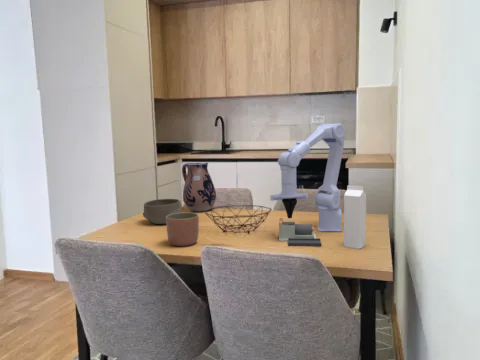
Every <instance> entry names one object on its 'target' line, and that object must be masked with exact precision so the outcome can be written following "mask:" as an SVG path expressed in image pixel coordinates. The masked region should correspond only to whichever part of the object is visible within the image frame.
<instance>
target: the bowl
mask: <svg viewBox="0 0 480 360" xmlns="http://www.w3.org/2000/svg"><path fill="white" fill-rule="evenodd" d="M182 212H183V205H182V202H181V200H180V199H178V198H177V199H176V198H162V199H161V198H160V199H152V200H148V201H145V203H143V212H142V216H143V218H144V219H146V220H147V221H148V222H150V223H152V224H155V225H166V216H167V215H169V214H174V213H182Z"/></svg>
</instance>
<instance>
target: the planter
mask: <svg viewBox="0 0 480 360" xmlns="http://www.w3.org/2000/svg"><path fill="white" fill-rule="evenodd" d="M199 219H200V218H199V214H198V213H197V212H188V211H186V212H185V211H182V212H181V213H174V214H169V215H167V216H166V224H165V225H166V234H167V239H168V242H169V244H170V245H172V246H176V247H187V246H191V245H194V244H195V243H196V242H198V238H199V232H200V231H199V229H200V228H199V224H200V223H199V222H200V221H199Z"/></svg>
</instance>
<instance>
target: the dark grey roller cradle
mask: <svg viewBox="0 0 480 360" xmlns="http://www.w3.org/2000/svg"><path fill="white" fill-rule="evenodd" d="M287 246H288V247H322V241H321V238H317V237H316V238H288V241H287Z"/></svg>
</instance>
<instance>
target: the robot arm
mask: <svg viewBox="0 0 480 360" xmlns="http://www.w3.org/2000/svg"><path fill="white" fill-rule="evenodd" d="M346 132H347V131H346V129H345V127H344V125H343V124H342V123H340V122H339V123H321V124H319V126H317V127H316V130H315V131H313V132H312V133H311V134H310V135H309V136H308V137H307V138H306V139H305V140H300V141H299V140H298V141H296V142H295V143H296V144H295V145H293V146H292V147H291V148H290V147H289V148H288V150H287V151H284V152H282V153H280V155H279V156H278V159H277V163H278V165H279V168H280V171H281V172H280V173H281V178H280V179H281V193H279V194H270V197H269V198H270V201H272V202H273V201H281V202H282V204H283V206H284V209H285V212H286V215H287V219H292V218H293V213H294V211H295V207H296V205H297V203H298V200H308V199H309V194H308V192H307V193H306V192H305V193H301V192H300V193H299V192H297V191H298V190H297V167H298V166H299V165H300V162H301V160H302V159H303V158H305V157H306V156H307V155H308V154H309V153H310V152H311V148H312V147H313V146H315V145H316V144H317V143H319V142H321V141H324V143H325V144H326V145H327V146H328V147H329V149H328V150H329V151H328V156H327V162H326V166H325V172H324V178H323V183H322V185H321V186H319V187H318V188H317V192H316V194H315V196H314V203H315V205H316V206H317V209H318V225H317V226H316V227H317V231H318V232H342V226H343V216H342V214H343V213H342V209H341V208H339V207H340V204H341V202H342V201H341V199H342V198H341V190H340V189H339V188H338V186H337V184H338V181H339V180H338V178H339V174H340V169H341V162H342V157H343V154H344V153H343V152H344V145H345V137H346Z"/></svg>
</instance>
